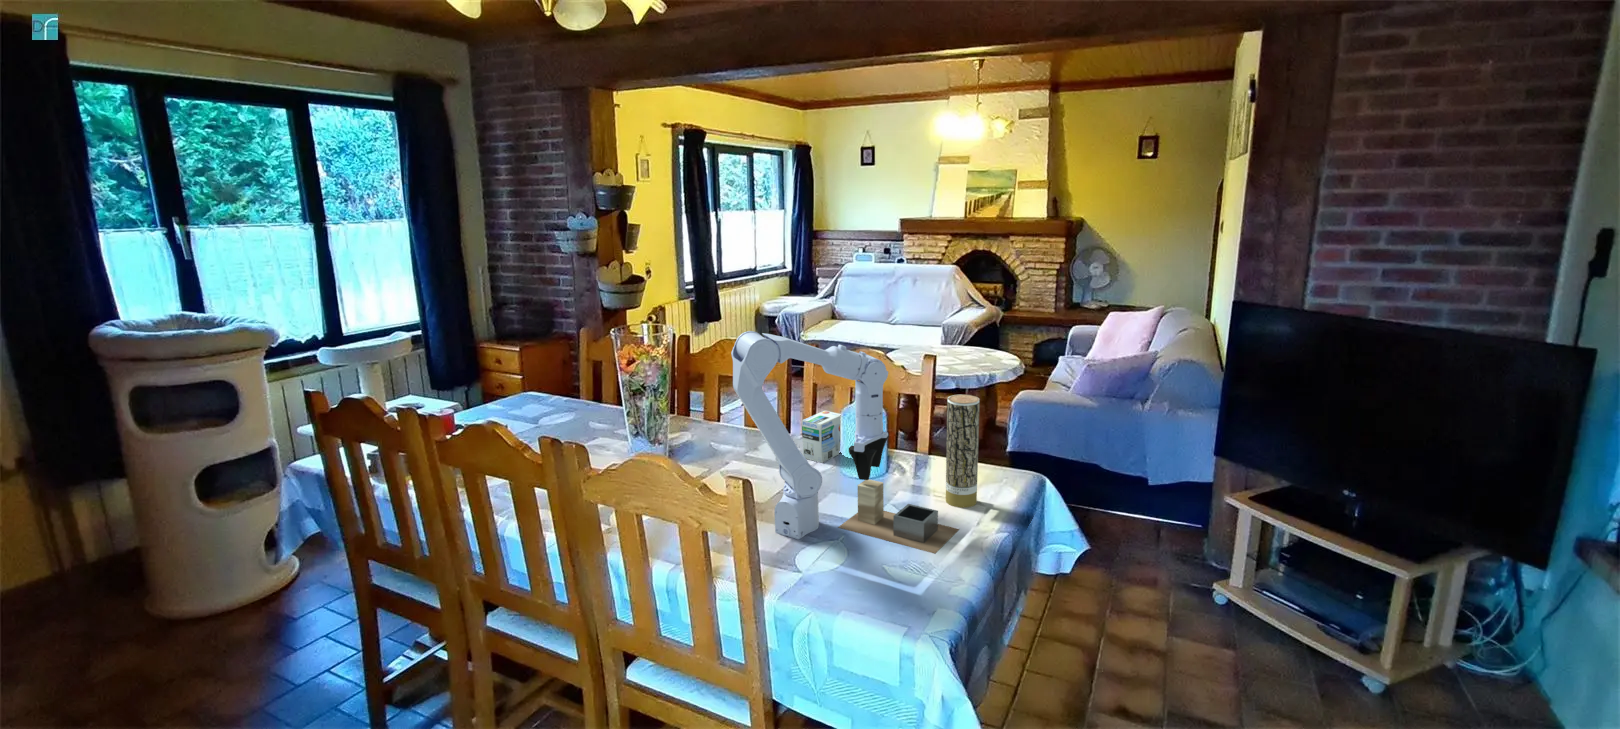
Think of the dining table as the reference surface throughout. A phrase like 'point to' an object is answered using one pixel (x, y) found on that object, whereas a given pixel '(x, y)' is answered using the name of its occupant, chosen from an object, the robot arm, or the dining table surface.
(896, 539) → the plank
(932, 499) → the dining table surface
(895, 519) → the grey open box
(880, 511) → the beige wooden block
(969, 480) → the paper tube
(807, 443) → the light bulb box
